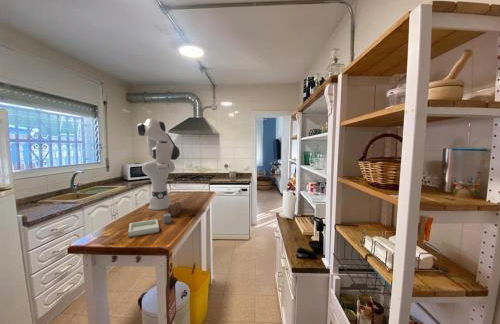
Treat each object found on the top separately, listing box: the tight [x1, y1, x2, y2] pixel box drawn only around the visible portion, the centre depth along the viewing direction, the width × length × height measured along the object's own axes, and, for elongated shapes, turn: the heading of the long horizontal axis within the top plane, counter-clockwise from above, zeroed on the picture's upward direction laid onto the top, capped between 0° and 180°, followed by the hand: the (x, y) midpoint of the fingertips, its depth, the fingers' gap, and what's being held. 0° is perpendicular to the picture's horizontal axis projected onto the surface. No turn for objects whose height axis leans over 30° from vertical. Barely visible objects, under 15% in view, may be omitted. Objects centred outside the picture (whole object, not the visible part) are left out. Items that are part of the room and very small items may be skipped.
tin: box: [167, 201, 182, 217], centre depth 165 cm, size 15×3×8 cm, turn 168°
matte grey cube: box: [162, 213, 172, 225], centre depth 147 cm, size 4×4×5 cm
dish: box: [127, 218, 160, 238], centre depth 134 cm, size 16×16×3 cm
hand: (164, 185), depth 147 cm, fingers open, 8 cm apart
